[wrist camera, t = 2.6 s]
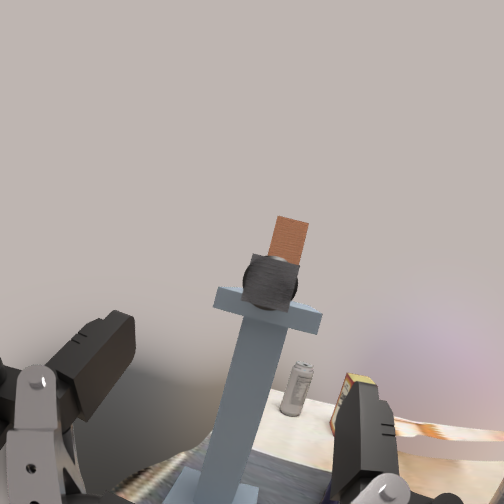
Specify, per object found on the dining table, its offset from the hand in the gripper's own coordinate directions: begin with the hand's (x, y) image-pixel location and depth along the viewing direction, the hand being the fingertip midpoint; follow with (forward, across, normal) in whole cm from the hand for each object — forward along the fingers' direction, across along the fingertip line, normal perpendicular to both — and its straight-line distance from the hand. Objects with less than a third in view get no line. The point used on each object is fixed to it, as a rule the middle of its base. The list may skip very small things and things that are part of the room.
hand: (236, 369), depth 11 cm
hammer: (+19, 0, +9) cm, 21 cm away
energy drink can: (+52, -12, +64) cm, 83 cm away
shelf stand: (+9, 0, +40) cm, 41 cm away
